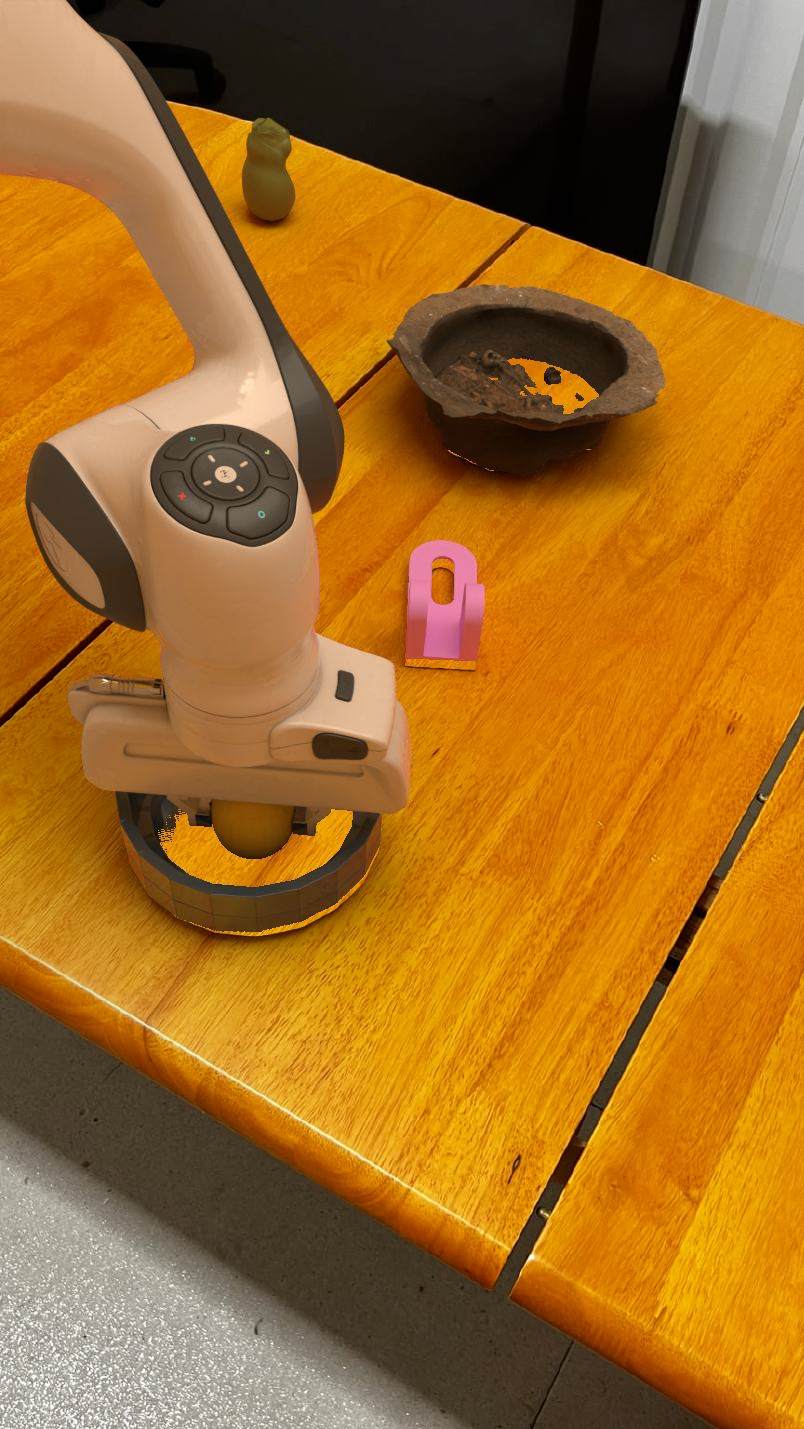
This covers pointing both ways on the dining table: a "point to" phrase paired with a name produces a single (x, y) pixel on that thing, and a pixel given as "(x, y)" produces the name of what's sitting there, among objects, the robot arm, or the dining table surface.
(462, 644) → the bracket
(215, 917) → the dark grey round ring
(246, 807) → the lemon
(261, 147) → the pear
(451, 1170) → the dining table surface
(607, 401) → the stone bowl
